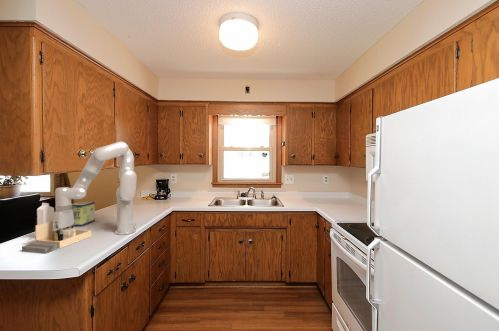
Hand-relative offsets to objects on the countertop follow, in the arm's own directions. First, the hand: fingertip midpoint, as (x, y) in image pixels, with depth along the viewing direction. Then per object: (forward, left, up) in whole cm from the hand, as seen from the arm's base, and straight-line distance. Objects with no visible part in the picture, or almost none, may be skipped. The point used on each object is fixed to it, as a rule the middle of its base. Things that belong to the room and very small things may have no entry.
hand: (64, 238), depth 151 cm
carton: (0, +1, -2) cm, 2 cm away
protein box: (-36, -23, -2) cm, 43 cm away
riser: (+15, +1, -2) cm, 15 cm away
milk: (-2, -15, -2) cm, 16 cm away
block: (0, +1, -2) cm, 2 cm away
